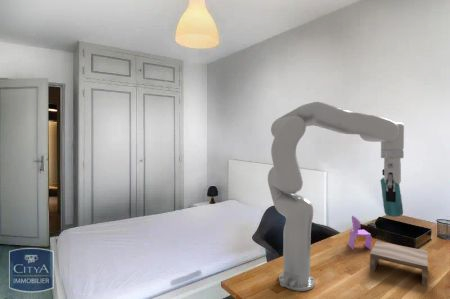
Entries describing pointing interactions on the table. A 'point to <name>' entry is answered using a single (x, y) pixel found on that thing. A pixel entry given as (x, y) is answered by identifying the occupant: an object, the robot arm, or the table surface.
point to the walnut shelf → (400, 257)
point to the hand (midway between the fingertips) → (391, 199)
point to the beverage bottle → (391, 207)
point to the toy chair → (359, 234)
